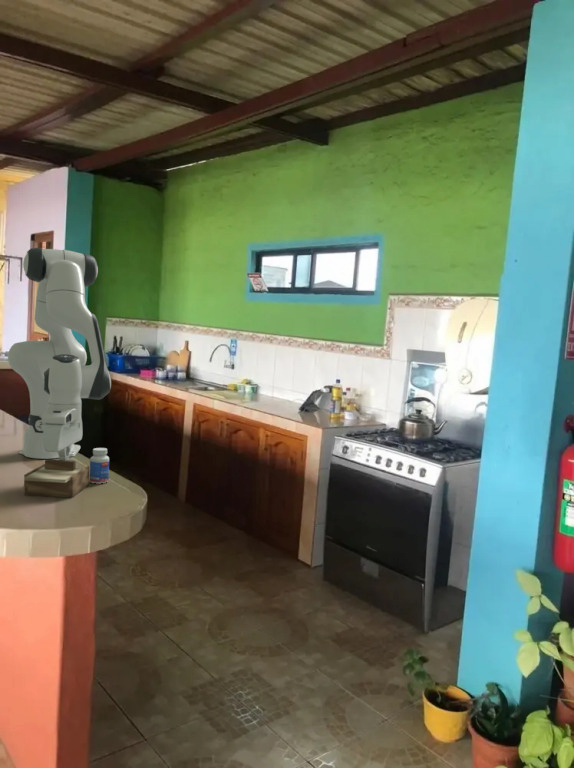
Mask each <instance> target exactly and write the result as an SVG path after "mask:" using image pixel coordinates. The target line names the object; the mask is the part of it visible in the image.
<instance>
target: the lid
mask: <svg viewBox="0 0 574 768" xmlns="http://www.w3.org/2000/svg"><path fill="white" fill-rule="evenodd" d="M76 461H77V460H70V459H69V460H59V459H52V458H50V459H44V464H45V467H43V468H41V469H39V470H37V471H35V472H34V473H32V474H30V475H28V476H26V477H24V476H23V477H24V478H23V481H42V482H60V483H66V482H67V481H69V480H70V479H71V477H72V476H73V475H75V474H76V473H78V472H79V471H81V470H83V469H84V468H83V467H82V468H79V467H76V464H77V463H76Z"/></svg>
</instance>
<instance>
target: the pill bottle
mask: <svg viewBox="0 0 574 768" xmlns="http://www.w3.org/2000/svg"><path fill="white" fill-rule="evenodd" d="M107 454H108V448H106V447H96V448H95V447H94V448H93V449H92V456H91V457H90V458H89V483H91V484H94V483H96V484H95V485H102V484H101V483H103V484H106V482H107V483H109V478H110V457H109V456H108V455H107Z"/></svg>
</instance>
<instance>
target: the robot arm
mask: <svg viewBox="0 0 574 768" xmlns="http://www.w3.org/2000/svg"><path fill="white" fill-rule="evenodd" d="M22 262H23V264H22V267H23V271H24V273H25V277H27V279H29V280H31V281H33V282H35V283H38V285H37V291H36V297H35V306H34V307H35V309H34V322H35V324H36V327H39V329H41V330H43V331H44V332H46V333H48V334H49V340H26V341H19V342H15V343H13V344H12V345H11V346H10V348H9V351H8V353H7V361H8V364H9V366H10V368H11V369H12V370H13V371H14V372H16V373H17V374H18V375H20V377H21V378H22V379H23V380H24V382H25V383H26V386H27V388H28V392H29V399H30V401H29V403H30V406H29V407H30V409H29V410H30V413H29V415H28V425H29V426H28V427H27V428H26V429H25V430H24V437H23V438H24V439H23V449H21V450H19V455H20V454H21V455H23V456H25V457H27V458H29V459H30V458H31V459H44V460H47V459H58V460H69V461H70V458H71V457H75V456H76V455H77V454H78V452H79V451H80V449H81V445H80V444H75V443H78V442H80V441H81V440H82V439H83V432H84V431H83V419H82V408H83V407H82V399H90V400H102V399H104V397H105V396H107V395H109V393H110V392H111V389H112V379H111V374H110V372H109V368H108V365H107V360H106V356H105V351H104V346H103V340H102V339H103V338H102V334H101V331H100V330H101V328H100V324H99V321H98V318H97V316H96V314H94V313H92V312H91V311H90V310H89V308H88V306H87V303H86V291H85V288H87V287H91V286H92V285H93V284H94V283H95V281H96V279H97V277H98V273H99V268H98V263H97V259H96V258H95V257H94V256H93V255H91V254H87V253H80V252H76V251H73V250H68V249H56V248H54V249H53V248H42V247H31V248H30V249H28V250H27V251H26V254H25V256H24V257H23V261H22ZM73 331H74V332H76V333H78V334H79V335H81V336H83V337H84V338H85V340H86V341H87V344H88V348H89V353H90V354H89V356H90V360H91V364H90V365H86V364H87V359H88V356H87V352H86V351H87V350H86V349H85V348H84V346H83V345H82V344H81V343H80V342H79V341H78V340H77V339H76V338H75V336H74V334H73Z"/></svg>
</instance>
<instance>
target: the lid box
mask: <svg viewBox="0 0 574 768" xmlns="http://www.w3.org/2000/svg"><path fill="white" fill-rule="evenodd" d="M43 467H45V463H43V464H42V465H39V466H38V467H36V468H34V469H33V470H30V471H28V472H27V473H25V474H23V475H24V476H23V477H26V476H28V475H30V474H32V473H34V472H35V471H37V470H39V469H41V468H43ZM82 469H83V470H81V471H79V472H78V473H76V474H75V475H73V476H72V477H71V479H70V480H69V481H67V482H66V483H60V482H42V481H24V480H23V481H24V484H23V495H24V496H33V495H34V496H35V497H36V496H37V497H56V498H57V497H58V498H71V499H72V498H74V497H75V496H77V495H78V494H79V493H81V492H82V491H84V490H85V489H86V488H87V487H89V486H88V485H90V465H87V466H86V467H84V468H82ZM84 488H85V489H84Z"/></svg>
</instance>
